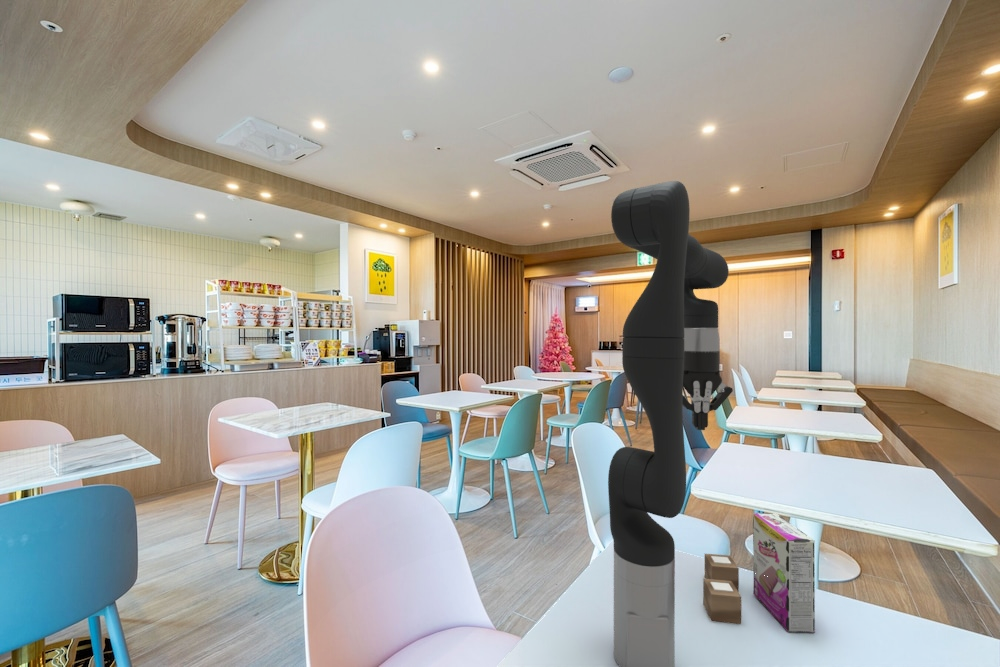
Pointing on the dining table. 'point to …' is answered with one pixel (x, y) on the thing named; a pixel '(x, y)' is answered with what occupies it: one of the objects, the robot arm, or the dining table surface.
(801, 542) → the candy bar box
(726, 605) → the marked block near
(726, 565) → the marked block far
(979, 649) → the dining table surface
